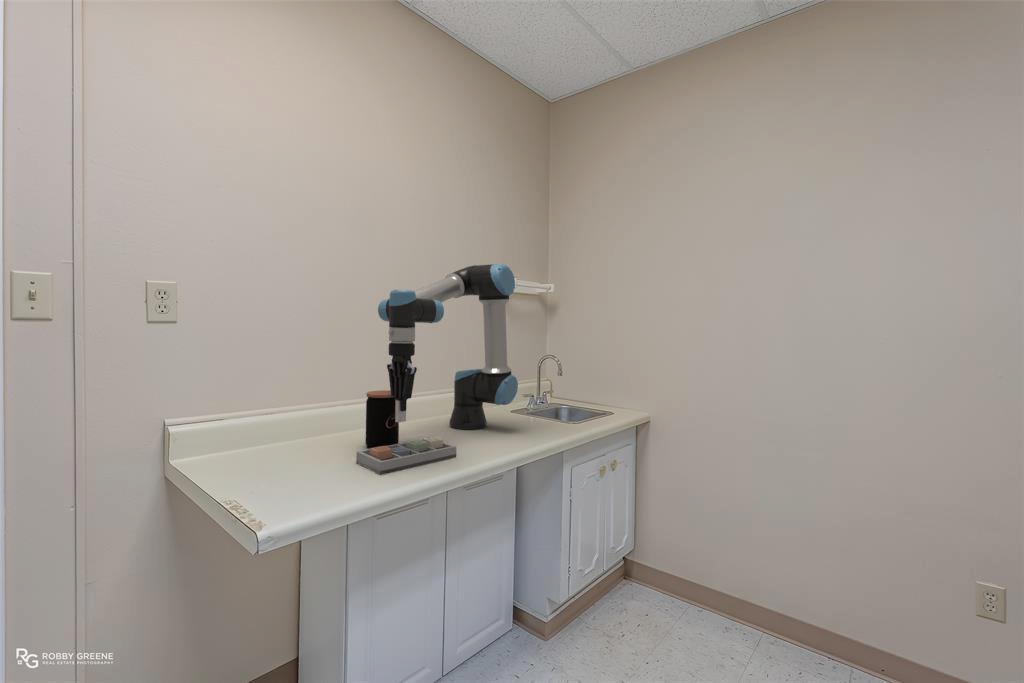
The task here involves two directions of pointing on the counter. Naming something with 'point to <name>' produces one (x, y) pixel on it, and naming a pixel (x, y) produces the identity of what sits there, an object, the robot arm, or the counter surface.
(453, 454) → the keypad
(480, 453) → the counter surface
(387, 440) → the coffee jar
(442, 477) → the counter surface
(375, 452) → the key terracotta
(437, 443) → the key ivory
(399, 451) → the key slate
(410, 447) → the key sage
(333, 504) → the counter surface
